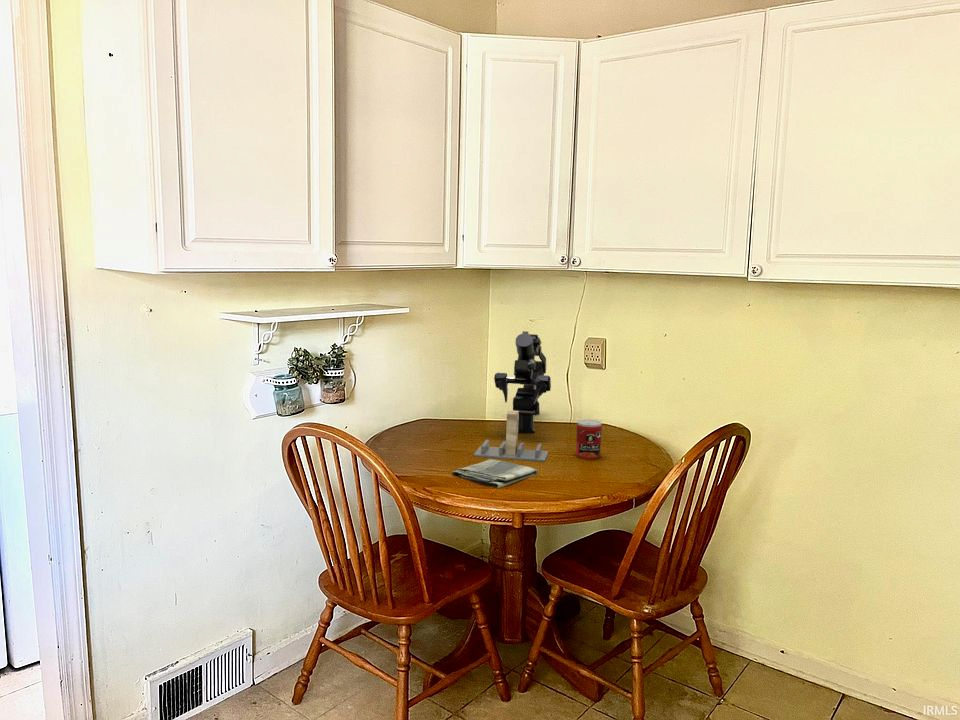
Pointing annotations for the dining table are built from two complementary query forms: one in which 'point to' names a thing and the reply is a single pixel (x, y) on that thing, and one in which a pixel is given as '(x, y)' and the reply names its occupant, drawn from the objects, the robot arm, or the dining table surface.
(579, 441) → the canned food
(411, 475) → the dining table surface
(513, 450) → the birch block
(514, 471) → the dish towel
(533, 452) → the slotted rack
